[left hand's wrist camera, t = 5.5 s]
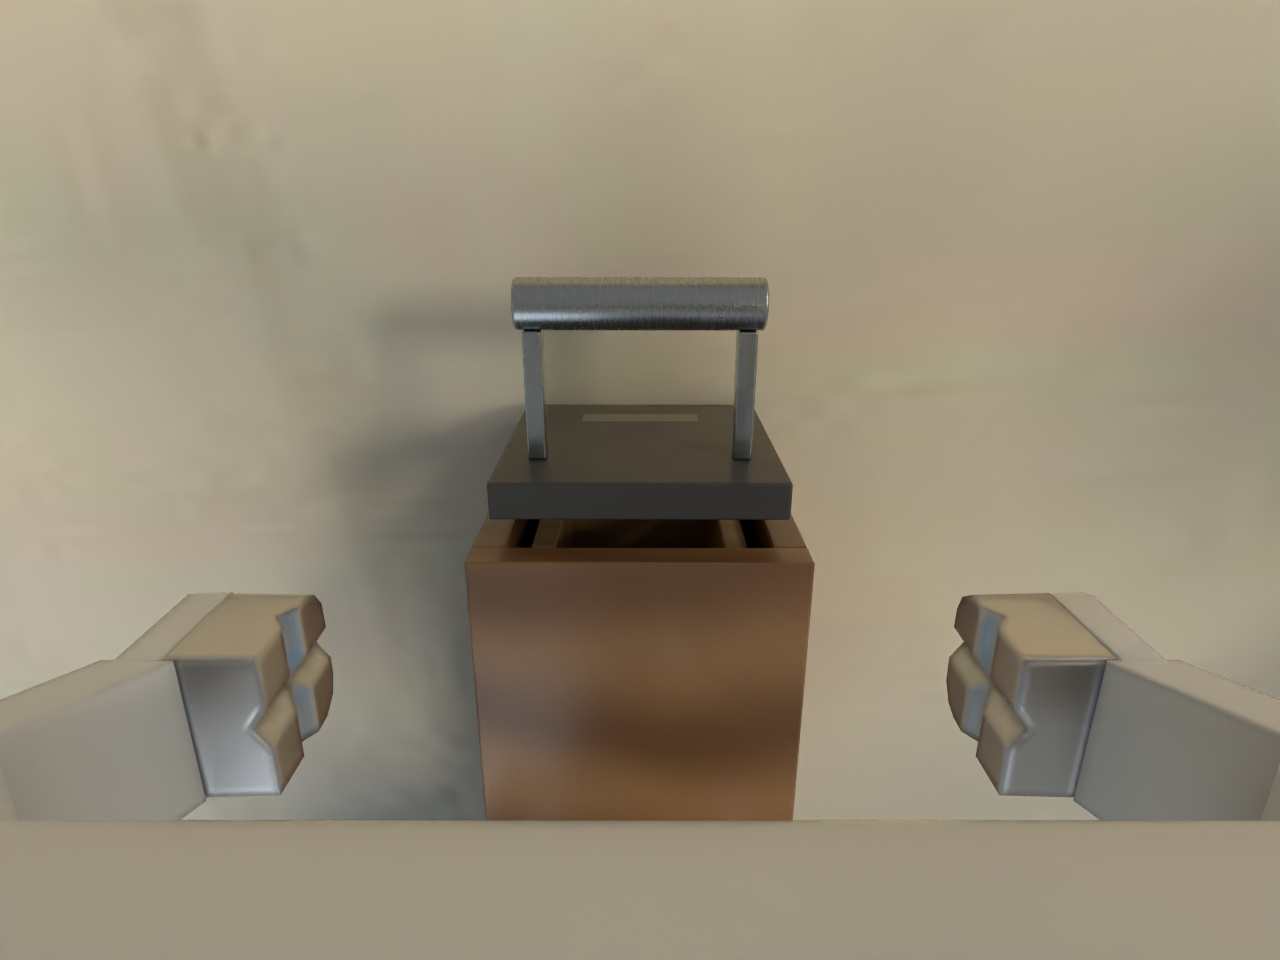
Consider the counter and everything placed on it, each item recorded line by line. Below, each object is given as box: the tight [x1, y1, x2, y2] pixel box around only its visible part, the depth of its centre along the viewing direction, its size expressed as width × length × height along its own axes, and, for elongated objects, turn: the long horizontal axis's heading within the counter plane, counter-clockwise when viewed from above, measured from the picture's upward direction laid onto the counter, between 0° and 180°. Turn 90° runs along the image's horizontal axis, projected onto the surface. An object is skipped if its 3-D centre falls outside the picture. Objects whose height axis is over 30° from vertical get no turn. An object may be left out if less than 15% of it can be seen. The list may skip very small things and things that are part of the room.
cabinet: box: [465, 513, 815, 820], centre depth 32 cm, size 22×10×11 cm, turn 0°
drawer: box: [487, 277, 793, 548], centre depth 30 cm, size 26×9×9 cm, turn 0°
